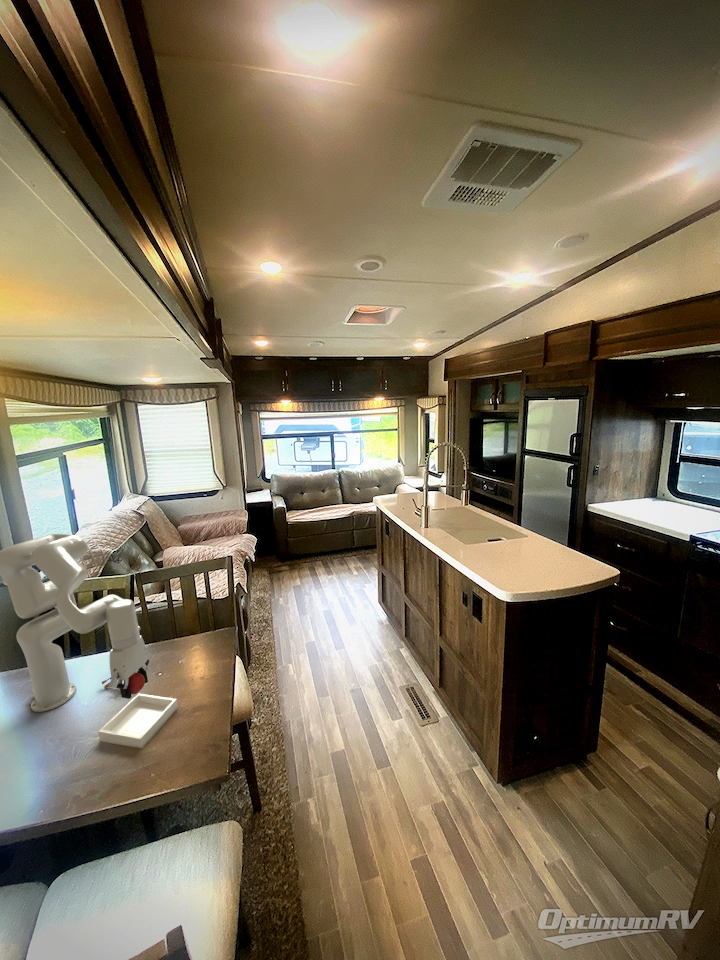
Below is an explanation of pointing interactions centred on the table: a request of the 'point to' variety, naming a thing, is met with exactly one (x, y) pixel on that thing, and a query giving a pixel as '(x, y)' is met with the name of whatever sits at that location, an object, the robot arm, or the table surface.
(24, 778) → the table surface
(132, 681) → the onion
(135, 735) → the dish
